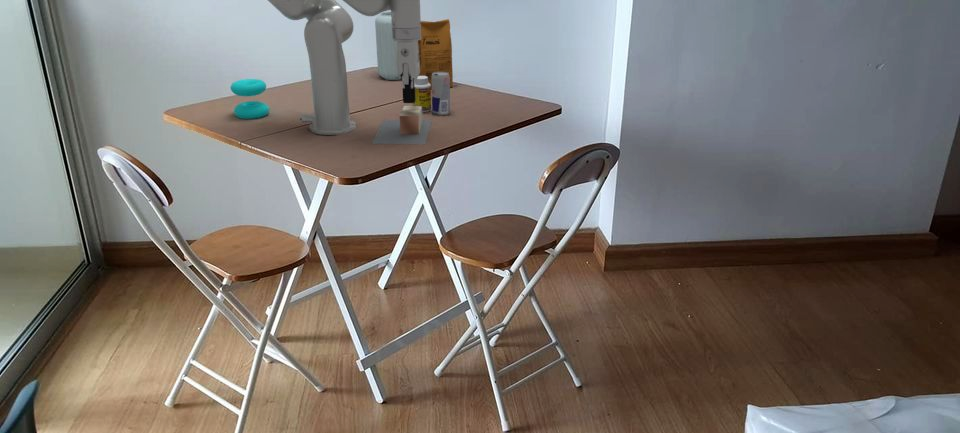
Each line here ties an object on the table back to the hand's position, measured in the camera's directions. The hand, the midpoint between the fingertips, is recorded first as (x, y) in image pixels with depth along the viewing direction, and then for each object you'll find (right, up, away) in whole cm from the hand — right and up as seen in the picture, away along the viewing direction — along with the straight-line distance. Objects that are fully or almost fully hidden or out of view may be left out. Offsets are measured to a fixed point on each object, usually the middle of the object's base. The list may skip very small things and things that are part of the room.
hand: (409, 102), depth 199 cm
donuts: (-49, -1, +20) cm, 52 cm away
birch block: (0, -6, 0) cm, 6 cm away
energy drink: (+7, 0, +21) cm, 22 cm away
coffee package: (+3, +13, +51) cm, 53 cm away
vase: (-11, +18, +62) cm, 66 cm away
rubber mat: (-2, -8, +4) cm, 9 cm away
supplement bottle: (+2, +1, +24) cm, 24 cm away
